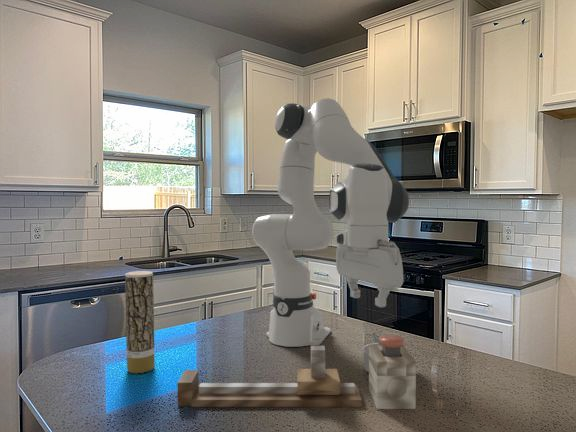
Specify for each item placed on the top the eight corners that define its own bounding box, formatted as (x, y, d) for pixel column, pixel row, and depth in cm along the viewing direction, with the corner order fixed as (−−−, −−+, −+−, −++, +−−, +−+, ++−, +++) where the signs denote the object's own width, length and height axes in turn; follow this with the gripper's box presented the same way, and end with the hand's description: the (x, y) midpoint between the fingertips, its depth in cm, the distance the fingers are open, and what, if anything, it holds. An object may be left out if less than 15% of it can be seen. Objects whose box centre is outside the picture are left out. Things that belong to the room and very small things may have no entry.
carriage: (297, 397, 94) (297, 353, 94) (297, 383, 101) (297, 342, 101) (340, 397, 94) (340, 353, 94) (336, 383, 101) (336, 342, 101)
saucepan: (393, 352, 128) (393, 332, 127) (414, 380, 108) (414, 357, 107) (353, 352, 127) (353, 333, 127) (366, 381, 107) (366, 358, 107)
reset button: (381, 361, 95) (381, 342, 95) (377, 352, 100) (377, 334, 100) (406, 361, 95) (406, 342, 95) (400, 352, 100) (400, 334, 100)
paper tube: (146, 375, 111) (144, 275, 110) (121, 373, 112) (119, 275, 111) (159, 365, 118) (157, 271, 117) (136, 363, 119) (134, 270, 118)
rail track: (175, 409, 93) (174, 362, 92) (187, 388, 103) (186, 346, 103) (416, 409, 92) (416, 362, 92) (403, 388, 103) (403, 345, 102)
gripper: (411, 241, 88) (410, 310, 89) (354, 234, 107) (354, 292, 107) (385, 242, 86) (385, 314, 86) (331, 235, 104) (331, 294, 105)
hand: (367, 301), depth 97 cm, fingers open, 8 cm apart
